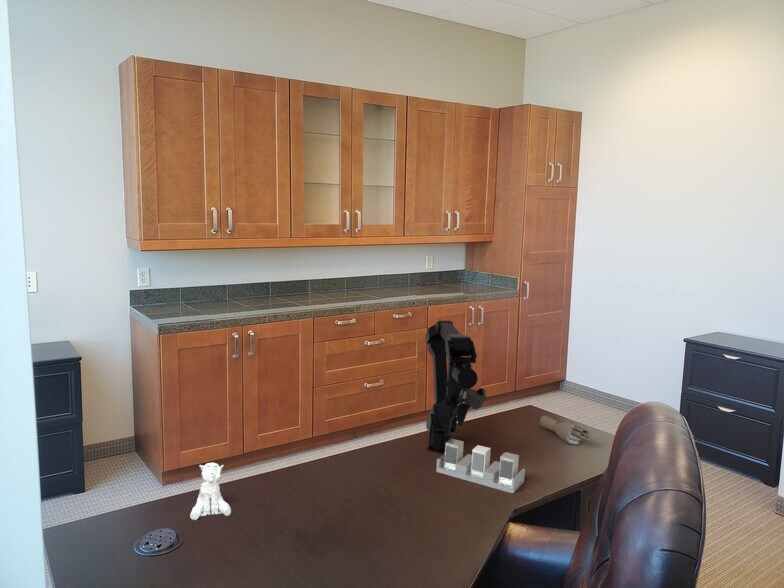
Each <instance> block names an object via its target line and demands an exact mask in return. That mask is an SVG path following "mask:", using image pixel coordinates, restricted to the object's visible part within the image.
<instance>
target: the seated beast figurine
mask: <svg viewBox="0 0 784 588" xmlns="http://www.w3.org/2000/svg"><path fill="white" fill-rule="evenodd" d="M199 468H200V470H201V477H202V480H203V481H202V483H201V485H200V487H199V493H198V495H197V499H196V503H195V505H194V506H193V507H192V509H191V512H190V515H189V517H190V519H191V520H192V521H193V520H194V521H196V520H198V519H199V518H200V517H204V516H205V517H206V516H207V515H208V516H210V515H218V514H219V515H220V514H222V515H224V516H226V517H228V516H231V513H232V509H231V506H230V504H229V503H227V502H226V501H225V500H224V498H223V496H222V493H221V490H220V488H221V487H220V484H219V482H218V479H219V478H220V477H221V472H222V469H223V468H224V464H222V465H220V464H218V463H216V462H207V463H205V464H204V465H201V464H199Z"/></svg>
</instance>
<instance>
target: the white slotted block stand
mask: <svg viewBox="0 0 784 588" xmlns="http://www.w3.org/2000/svg"><path fill="white" fill-rule="evenodd" d="M464 445H465V441H464V440H459V439H454V438H452V439H450V440H449V441H447V442H446V447H445V453H444V454H443V453H442V454H441V455H440V456H439V457H437V458H436V469H435V470H436V473H439V474H444V475H447V476H450V477H452V478H457V479H459V480H464V481H467V482H471V483H474V484H479V485H481V486H486V487H489V488H492V489H496V490H499V491H503V492H506V493H510V494H514V493H515V492H516V491H517V490H518V489H519V488H520V487H522V485H523V484H524V483H525V474H526V473H525V472H526V468H524V467H523V468H522V469H521V470H520V471H519V470H518V469H519V459H520V455H519V454H515V453H510V452H508V451H506V452H503V453H502V454H501V455H500V457H499V459H500V460H499V461H497V460H496V461H495V460H494V461H493V462H492V463H490V465H489V467H488V468H486V469H485V470H484V471H483V476H482V475H479V474H475V473H471V466H472V454H470V453H467V454H466V455H465V456H464ZM518 471H519V472H518Z"/></svg>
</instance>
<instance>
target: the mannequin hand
mask: <svg viewBox="0 0 784 588" xmlns="http://www.w3.org/2000/svg"><path fill="white" fill-rule="evenodd" d="M539 426H540V427H541V428H543V429H545V430H547V431H550V432H553V433H555V434H556V436H557V437H558V438H559V439H560V440H562V441H563V442H564V443H567V444H568V445H575V446H579V444H580V442H581V441H582V440H585V441H589V439H590V437H589V435H591V432H590V430H588V429H586V428H584V427H581V426H580V425H578V424H576V423H575V422H574V421H569V420H567V421H558V420H556V419H555V418H554V417H551V416H549V415H543V416H541V417H540V419H539Z"/></svg>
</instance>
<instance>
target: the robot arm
mask: <svg viewBox="0 0 784 588" xmlns="http://www.w3.org/2000/svg"><path fill="white" fill-rule="evenodd" d="M424 341H425V344H426V349H427V351H428V352H429V354H430V355H431V358H432V368H433V369H432V371H433V372H432V373H433V374H432V375H433V392H434V393H433V395H434V401H433V404H432V406H431V408H430V410H429V414H428V417H427V419H426V421H425V422H426V424H425V426H426V427H425V428H426V430H427V432H428V435H429V436H428V446H426V447H425V448H426V450H428V451H432V452H435V453H438V454H442V455H443V454H444V453H445V447H446V442H447V441H449V440H450V439H453V436H452V433H453V434H454V433H455V432H456V429H457V425H458V427H463V425H464V423H465V419H466V417H467V414H468V411H469V409H470V408H472V409H473V410H475V411H477V410H479V409H480V408H482V406H483V405H484V402H486V401H487V396H486V390H485V389H484V388H483V387H480V388H478V389H475V388H474V387H475V386H476V385H477V383H478V378H479V377H478V374H477V372H476V371H475V370H474V369H473V368H472V364H476V363H477V360H476V359H477V357H478V356H477V351H476V348H475V343H474V341H473V340H472V337H470V336H469V335H466V334H461V333H460V332H459V331H458V329H457V328H456V327H455V326H454V322H453V321H451V320H438V321H436V322H435V324H433V325H431V326H430V327H428V328H427V331H426V332H425V337H424ZM447 361H448V362H447ZM472 388H473V389H472Z"/></svg>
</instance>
